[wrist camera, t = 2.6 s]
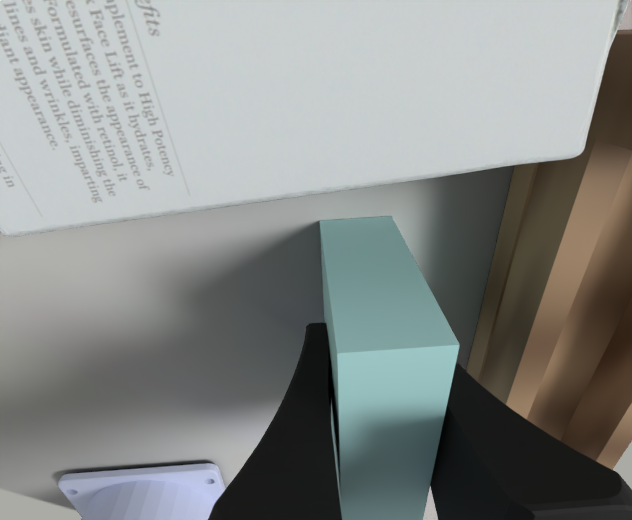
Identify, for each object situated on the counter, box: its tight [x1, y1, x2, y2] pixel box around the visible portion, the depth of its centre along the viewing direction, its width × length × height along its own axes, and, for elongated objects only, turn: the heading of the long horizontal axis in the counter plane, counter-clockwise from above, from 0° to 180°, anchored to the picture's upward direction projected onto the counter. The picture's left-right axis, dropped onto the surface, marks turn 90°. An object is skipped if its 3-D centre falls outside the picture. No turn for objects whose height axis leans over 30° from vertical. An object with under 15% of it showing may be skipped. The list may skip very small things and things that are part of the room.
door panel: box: [320, 216, 460, 520], centre depth 12 cm, size 8×2×6 cm, turn 3°
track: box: [466, 30, 632, 470], centre depth 12 cm, size 18×6×5 cm, turn 3°
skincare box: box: [0, 0, 629, 237], centre depth 8 cm, size 6×4×12 cm
